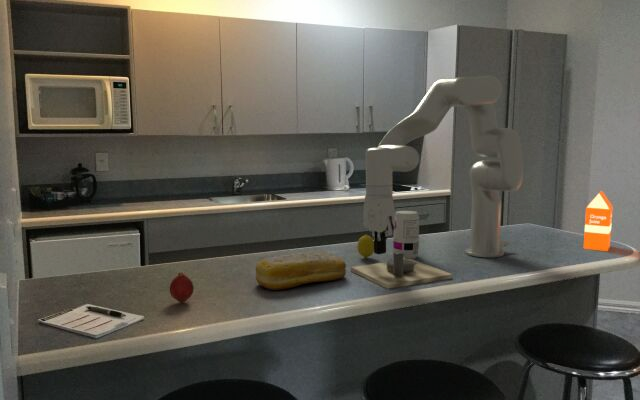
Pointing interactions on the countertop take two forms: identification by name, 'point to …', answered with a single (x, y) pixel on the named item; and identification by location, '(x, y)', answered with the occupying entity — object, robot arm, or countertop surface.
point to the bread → (299, 269)
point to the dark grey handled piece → (400, 265)
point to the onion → (181, 288)
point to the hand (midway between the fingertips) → (380, 253)
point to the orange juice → (598, 223)
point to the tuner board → (387, 280)
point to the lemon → (365, 246)
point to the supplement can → (406, 233)
